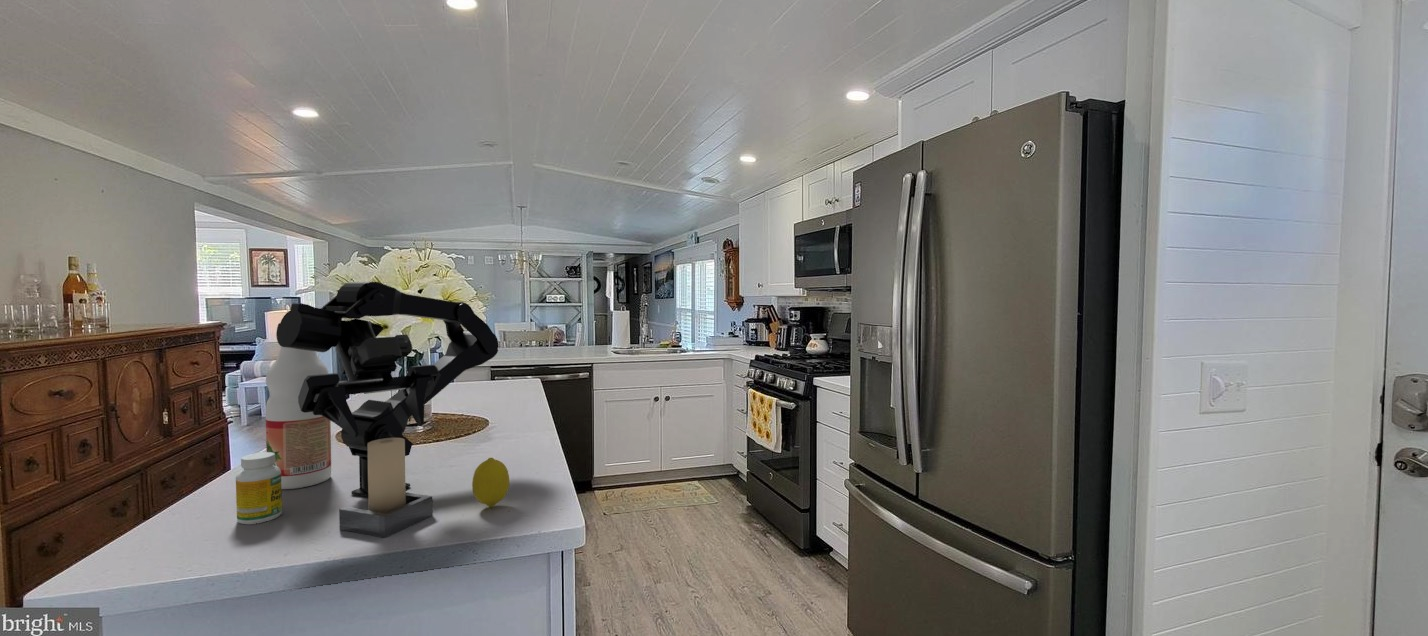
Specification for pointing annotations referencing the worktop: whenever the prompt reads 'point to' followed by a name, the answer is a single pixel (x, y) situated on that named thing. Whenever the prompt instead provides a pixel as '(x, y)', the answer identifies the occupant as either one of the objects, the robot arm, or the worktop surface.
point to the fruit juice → (296, 422)
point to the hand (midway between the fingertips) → (390, 429)
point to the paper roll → (386, 474)
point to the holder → (386, 517)
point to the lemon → (490, 482)
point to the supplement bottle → (258, 489)
